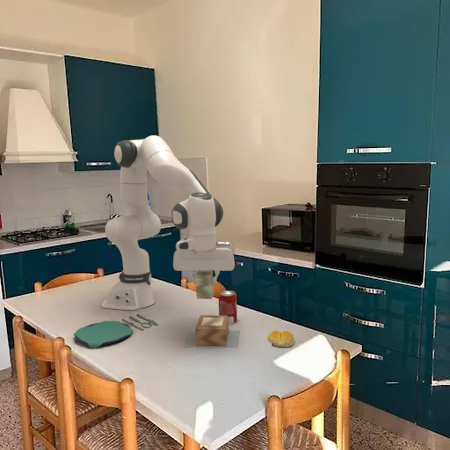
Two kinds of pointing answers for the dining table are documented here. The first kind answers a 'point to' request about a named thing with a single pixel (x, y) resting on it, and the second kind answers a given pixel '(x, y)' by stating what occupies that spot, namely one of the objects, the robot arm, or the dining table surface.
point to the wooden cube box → (212, 330)
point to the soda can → (228, 306)
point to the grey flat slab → (231, 343)
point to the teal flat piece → (107, 332)
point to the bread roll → (281, 338)
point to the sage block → (204, 285)
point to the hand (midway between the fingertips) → (204, 283)
